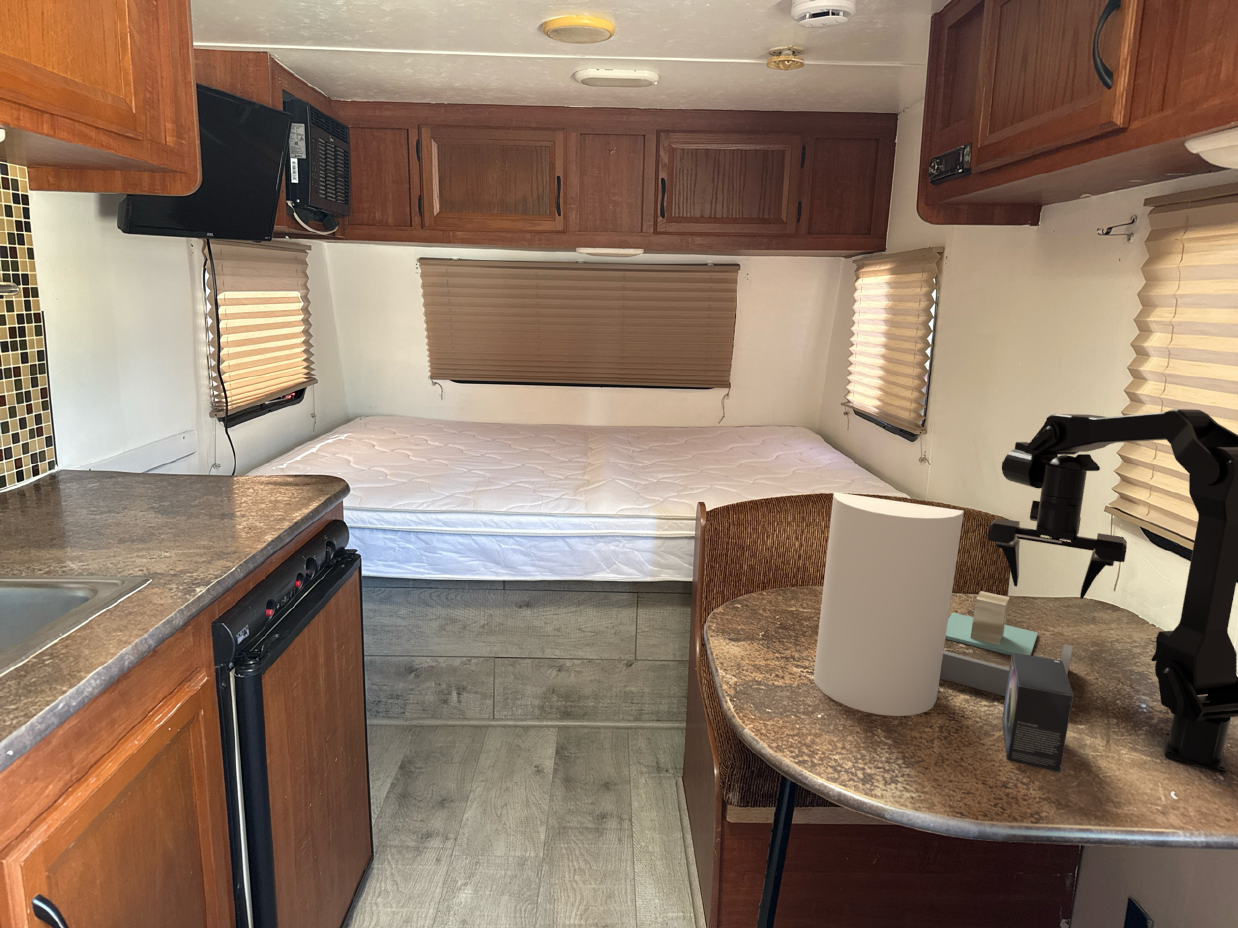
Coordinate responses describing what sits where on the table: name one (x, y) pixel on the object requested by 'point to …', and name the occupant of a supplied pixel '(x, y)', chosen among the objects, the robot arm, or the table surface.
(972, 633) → the cream block
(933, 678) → the cylinder
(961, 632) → the teal mat
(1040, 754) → the small box
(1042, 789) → the table surface
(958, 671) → the grey l-shaped bracket
